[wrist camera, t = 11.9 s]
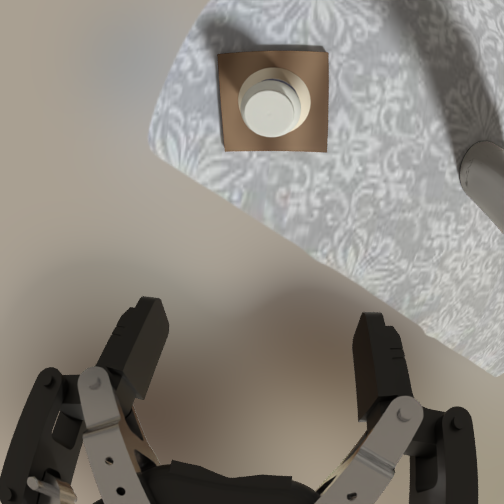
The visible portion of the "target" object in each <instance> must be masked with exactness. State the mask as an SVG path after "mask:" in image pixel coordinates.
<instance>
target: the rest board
mask: <svg viewBox="0 0 504 504" xmlns="http://www.w3.org/2000/svg"><path fill="white" fill-rule="evenodd" d="M217 56H218V70H219V84H220V98H221V110H222V123H223V135H224V147H225V152H228V151H305V152H327V137H328V97H329V65H328V53H327V52H311V51H252V52H236V53H224V54H217ZM272 78H274V79H280V80H283V81H286V82H287V83H289V84H290V85H291V86H292V87H293V88H294V89H295V91H296V92H297V95H298V97H299V100H300V103H301V114H300V118H299V121H298V123H297V124H296V126H295V127H294V128H293V129H292V130H291V131H290V132H288V133H287V134H285V135H282V136H279V137H265V136H261V135H259V134H256V133H255V132H253V131H252V130H251V129H249V127H248V126H247V125H246V124H245V122H244V120H243V118H242V115H241V101H242V98H243V96H244V94H245V93H246V91H247V90H248V89H249V88H250V87H252V86H253V85H255V84H256V83H258V82H261V81H263V80H266V79H272Z"/></svg>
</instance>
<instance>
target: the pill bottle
mask: <svg viewBox="0 0 504 504" xmlns="http://www.w3.org/2000/svg"><path fill="white" fill-rule="evenodd" d="M300 114H301V103H300V100H299V97H298V95H297V92H296V91H295V89H294V88H293V87H292V86H291V85H290V84H289V83H287V82H286V81H283V80H280V79H274V78H272V79H266V80H263V81H261V82H258V83H256V84H255V85H253V86H252V87H250V88H249V89H248V90H247V91H246V93H245V94H244V96H243V98H242V101H241V115H242V118H243V120H244V122H245V124H246V125H247V126H248V127H249V129H251V130H252V131H253V132H255V133H256V134H259V135H261V136H265V137H279V136H282V135H285V134H287V133H288V132H290V131H291V130H292V129H293V128H294V127H295V126H296V124H297V123H298V121H299V118H300Z"/></svg>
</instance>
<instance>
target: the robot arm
mask: <svg viewBox="0 0 504 504" xmlns="http://www.w3.org/2000/svg"><path fill="white" fill-rule="evenodd" d="M460 181H461V186H462V188H463V190H464V192H465V193H466V194H467V195H468V196H469V197H470V198H471V199H472V200H473V201H474V202H475V203H476V205H477V206H478V207H479V208H480V209H481V210H482V211H483V212H484V213H485V214H486V215H487V216H488V217H489V218H490V220H491V221H492V222H493V223H494V224H495V225H496V226H497V227H498V229H499V230H500V231H501V232H502V233H503V234H504V149H502V148H501V147H499V146H497V145H496V144H494V143H492V142H489V141H482V142H478V143H476V144H475V145H473V146H472V147H471V148H470V149H469V150H468V152H467V153H466V154H465V156H464V158H463V161H462V164H461V169H460ZM168 333H169V322H168V320H167V316H166V313H165V311H164V307H163V305H162V302H161V299H159V298H153V297H144V296H143V297H141V298H140V300H139V301H138V303H137V305H136V307H135V308H133V307H130V308H129V309H128V310H127V311H126V312H125V313H124V314H123V315H122V316H121V318H120V319H119V321H118V323H117V327H116V328H115V329H114V331H113V333H112V335H111V337H110V339H109V340H108V342H107V345H106V346H105V348H104V350H103V352H102V354H101V356H100V358H99V360H98V362H97V364H96V366H94V367H90V368H87V369H86V370H85V371H83V372H82V373H81V375H62V374H61V373H60V372H59V371H58V369H56V368H53V367H49V368H46V369H44V370H43V371H42V372H40V374H39V375H38V377H37V379H36V381H35V383H34V385H33V388H32V390H31V392H30V395H29V397H28V399H27V402H26V404H25V406H24V409H23V411H22V414H21V416H20V419H19V421H18V424H17V427H16V429H15V432H14V435H13V438H12V440H11V444H10V447H9V450H8V453H7V456H6V459H5V462H4V466H3V469H2V473H1V476H0V501H1V503H2V504H75V502H76V501H77V496H76V494H75V493H74V491H73V489H72V487H71V482H72V478H73V473H74V470H75V466H76V463H77V459H78V456H79V452H80V449H81V446H82V443H83V442H84V446H85V449H86V453H87V456H88V459H89V463H90V466H91V469H92V472H93V475H94V478H95V481H96V484H97V486H98V489H99V492H100V495H101V497H102V499H100V500H98V501H96V502H95V503H93V504H374V503H375V502H376V500H377V499H378V498H379V496H380V495H381V493H382V492H383V491H384V490H385V488H386V486H387V485H388V484H389V482H390V481H391V479H392V478H393V476H394V473H395V470H394V469H395V466H396V465H397V463H398V462H399V460H400V458H401V457H402V455H403V454H404V455H409V456H410V493H409V504H478V475H477V474H478V472H477V458H476V447H475V438H474V431H473V424H472V419H471V416H470V414H469V412H468V411H467V410H466V409H464V408H462V407H452V408H450V409H449V410H448V411H446V412H442V411H436V410H431V409H427V408H425V407H423V406H421V404H420V403H419V402H418V401H417V400H416V399H415V398H414V397H413V393H412V389H411V384H410V379H409V374H408V369H407V364H406V360H405V355H404V351H403V347H402V342H401V338H400V336H399V334H398V333H397V331H396V330H395V329H394V327H393V326H385V322H384V318H383V315H382V313H378V312H377V313H375V312H364V313H362V315H361V317H360V320H359V323H358V326H357V328H356V331H355V334H354V337H353V344H352V350H353V360H354V370H355V381H356V392H357V406H358V407H357V408H358V422H367V430H366V431H365V433H364V434H363V435H362V437H361V438H360V440H359V441H358V442H357V444H356V445H355V446H354V447H353V449H352V450H351V451H350V453H349V454H348V455H347V456H346V458H345V459H344V460H343V461H342V463H341V464H340V465H339V466H338V467H337V468H336V469H335V470H334V471H333V472H332V473H331V474H330V475H329V476H328V478H327V479H326V480H325V481H324V482H323V483H322V484H321V485H320V486H319V488H317V489H316V491H314V490H313V489H311V488H310V487H308V486H306V485H304V484H302V483H299V482H296V481H293V480H292V476H272V475H255V476H246V477H237V478H228V477H225V476H222V475H220V474H217V473H215V472H212V471H210V470H208V469H205V468H203V467H201V466H197V465H192V464H188V463H183V462H179V461H174V460H172V462H171V464H167V465H160V463H159V460H158V459H157V456H156V454H155V453H154V451H153V450H152V448H151V447H150V446H149V444H148V442H147V439H146V437H145V435H144V432H143V430H142V427H141V424H140V422H139V420H138V417H137V414H136V411H135V408H134V406H133V402H134V399H135V398H138V399H142V400H144V399H145V396H146V393H147V390H148V388H149V385H150V382H151V379H152V377H153V374H154V371H155V368H156V366H157V363H158V360H159V358H160V355H161V352H162V350H163V347H164V345H165V342H166V339H167V337H168ZM59 411H60V413H59ZM58 413H59V416H58V419H57V421H56V418H57V415H58ZM55 421H56V424H55V427H54V430H53V433H52V429H53V426H54V423H55Z"/></svg>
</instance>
